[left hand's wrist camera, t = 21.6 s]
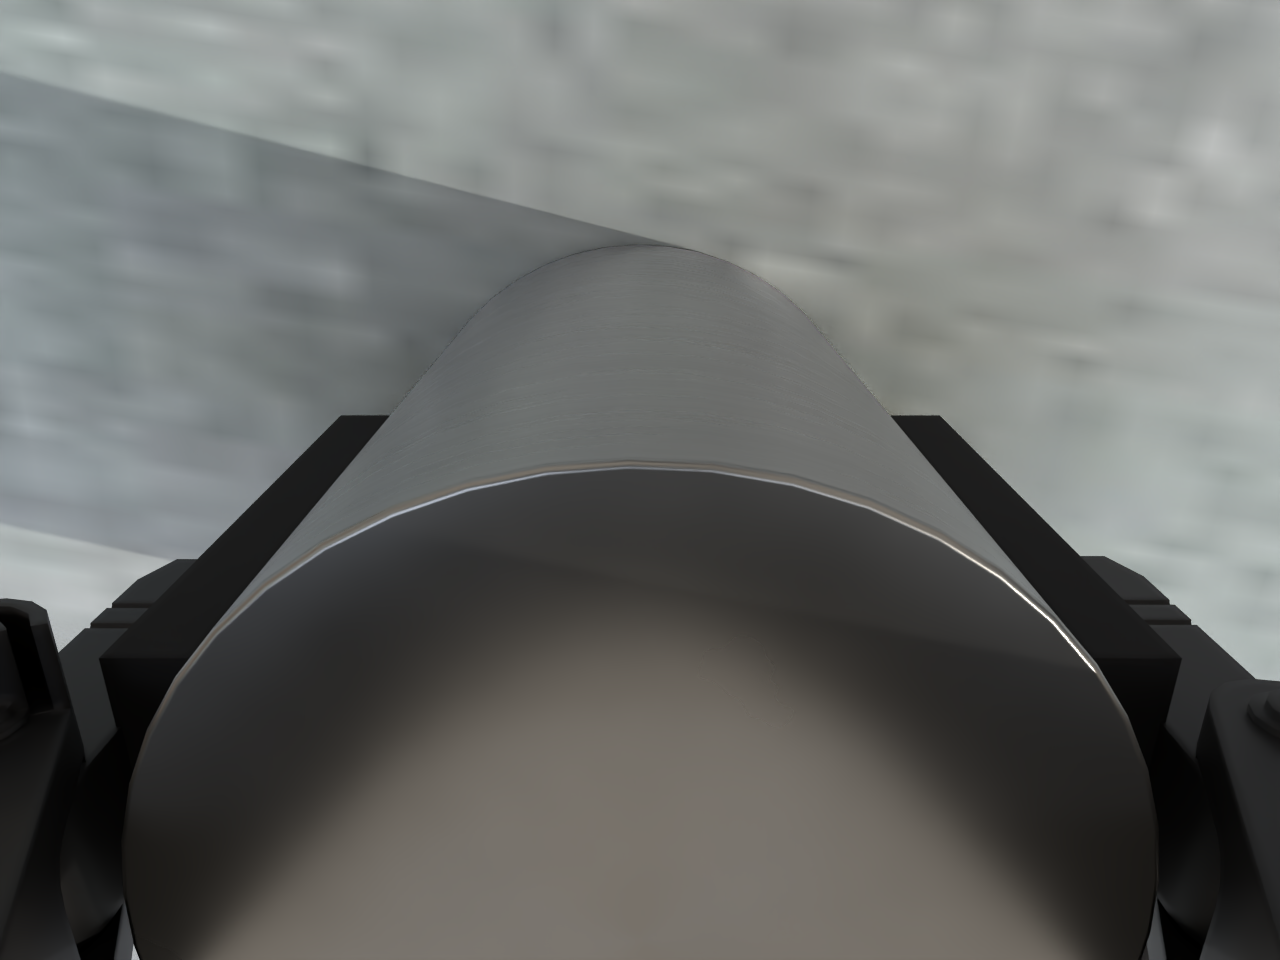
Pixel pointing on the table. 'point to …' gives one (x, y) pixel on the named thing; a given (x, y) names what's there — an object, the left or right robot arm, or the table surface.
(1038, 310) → the table surface
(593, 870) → the tin
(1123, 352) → the table surface
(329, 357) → the table surface
